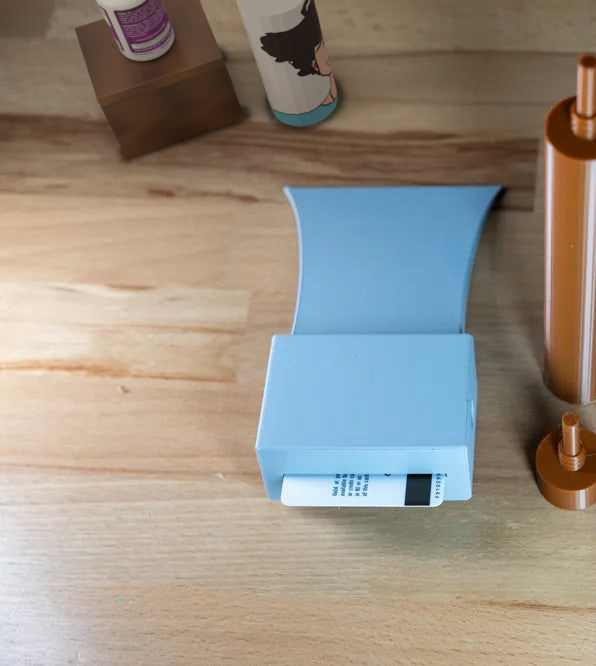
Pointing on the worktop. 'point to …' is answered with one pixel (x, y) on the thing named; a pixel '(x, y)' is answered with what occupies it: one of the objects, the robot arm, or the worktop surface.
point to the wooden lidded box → (162, 83)
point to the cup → (291, 58)
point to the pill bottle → (138, 27)
